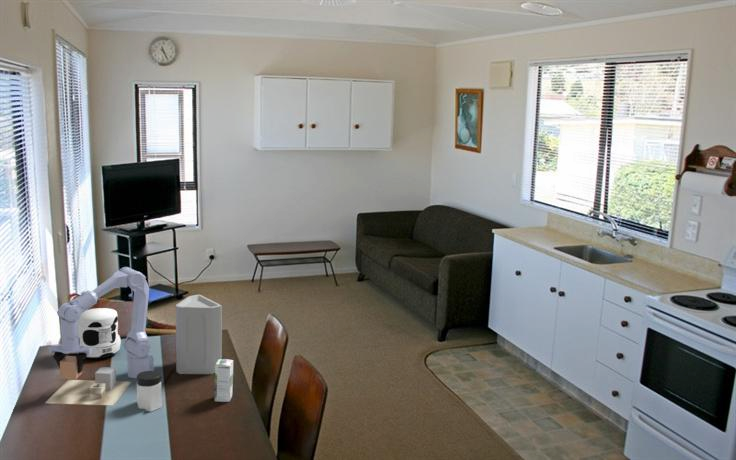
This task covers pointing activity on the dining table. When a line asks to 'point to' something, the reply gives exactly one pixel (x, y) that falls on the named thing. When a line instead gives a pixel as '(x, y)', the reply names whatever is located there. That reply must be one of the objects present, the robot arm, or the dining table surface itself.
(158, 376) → the jar
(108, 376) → the grey cover
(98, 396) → the letter cube
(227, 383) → the syrup box
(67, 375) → the terracotta cover
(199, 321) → the white triangular prism
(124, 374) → the dining table surface
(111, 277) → the robot arm
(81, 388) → the birch board
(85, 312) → the milk container
